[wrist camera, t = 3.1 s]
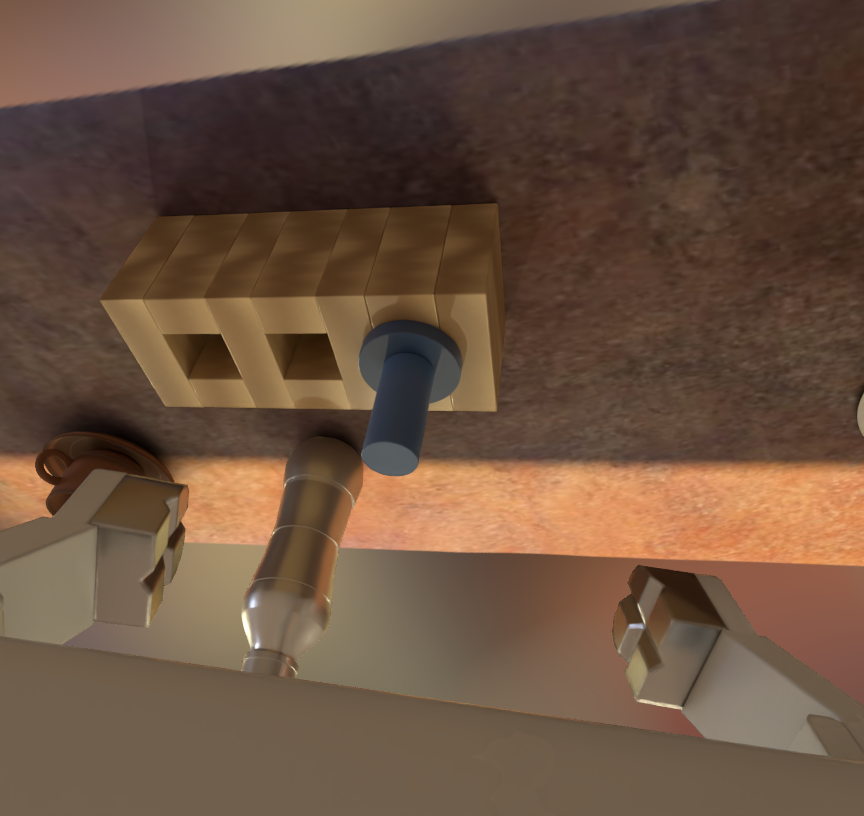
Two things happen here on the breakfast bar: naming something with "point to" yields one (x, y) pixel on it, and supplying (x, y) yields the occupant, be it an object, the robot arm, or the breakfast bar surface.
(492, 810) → the robot arm
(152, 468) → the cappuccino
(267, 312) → the rack
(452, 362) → the peg
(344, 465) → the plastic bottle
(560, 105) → the breakfast bar surface
